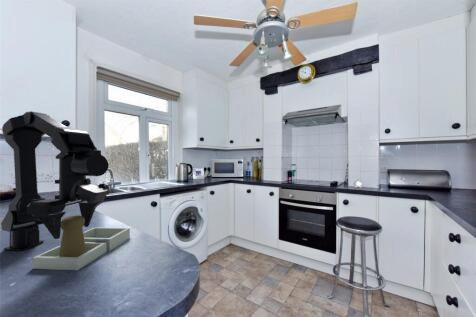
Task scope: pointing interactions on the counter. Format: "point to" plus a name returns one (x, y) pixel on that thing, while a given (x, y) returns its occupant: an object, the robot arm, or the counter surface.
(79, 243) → the cork
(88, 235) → the case
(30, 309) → the counter surface
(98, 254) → the lid
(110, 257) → the counter surface
